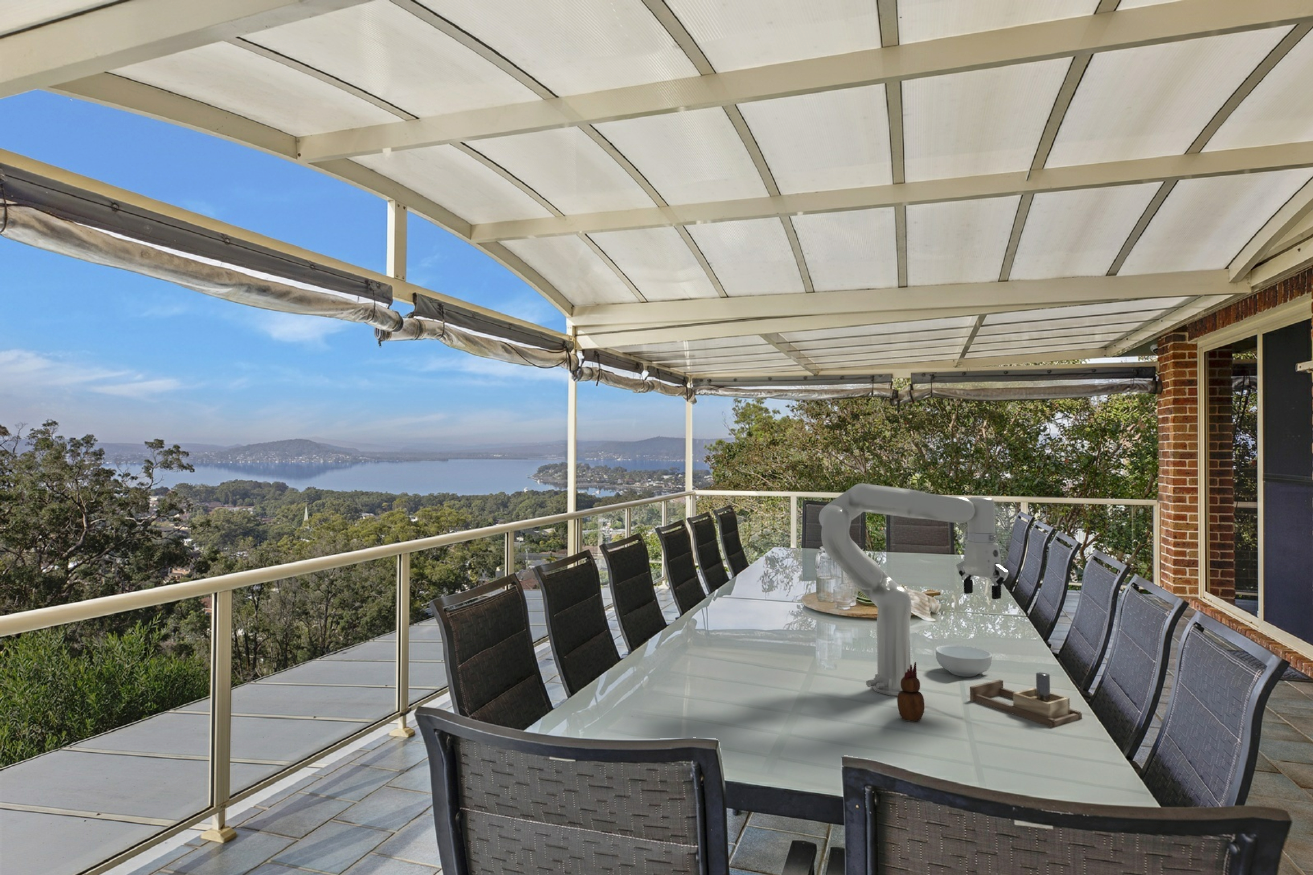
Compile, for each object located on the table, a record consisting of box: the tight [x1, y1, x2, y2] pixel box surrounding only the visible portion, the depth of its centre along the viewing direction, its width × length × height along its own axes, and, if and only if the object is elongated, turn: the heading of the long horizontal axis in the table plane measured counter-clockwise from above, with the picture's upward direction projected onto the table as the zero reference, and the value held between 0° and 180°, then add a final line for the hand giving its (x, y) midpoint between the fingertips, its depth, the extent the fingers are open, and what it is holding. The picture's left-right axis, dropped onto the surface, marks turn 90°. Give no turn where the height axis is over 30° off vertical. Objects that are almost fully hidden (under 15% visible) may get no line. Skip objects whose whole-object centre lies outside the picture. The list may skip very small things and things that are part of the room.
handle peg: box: [1035, 671, 1051, 702], centre depth 195 cm, size 3×3×10 cm
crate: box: [1012, 687, 1071, 719], centre depth 195 cm, size 9×10×5 cm
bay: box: [969, 679, 1083, 728], centre depth 200 cm, size 13×24×5 cm, turn 29°
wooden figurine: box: [896, 661, 925, 722], centre depth 196 cm, size 7×6×15 cm
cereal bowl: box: [935, 645, 993, 678], centre depth 237 cm, size 17×17×7 cm
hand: (982, 596), depth 219 cm, fingers open, 9 cm apart
